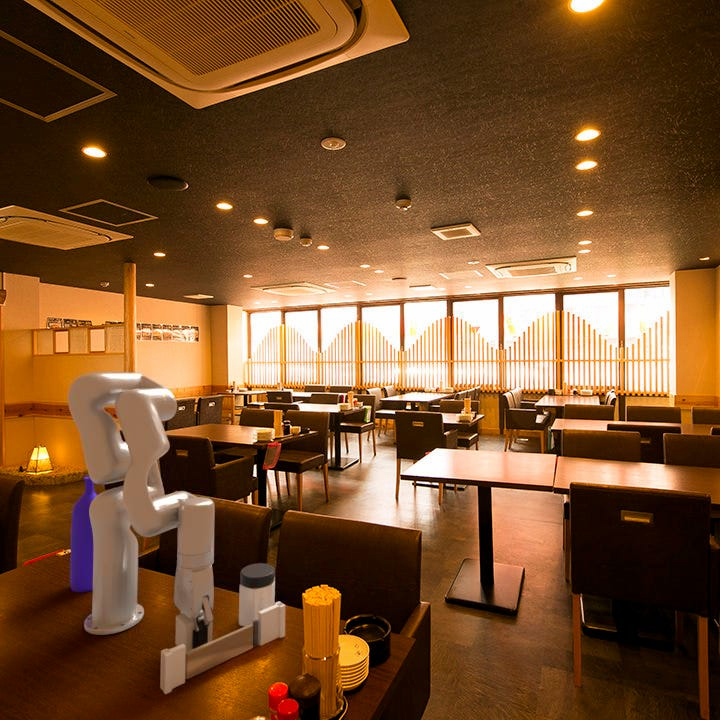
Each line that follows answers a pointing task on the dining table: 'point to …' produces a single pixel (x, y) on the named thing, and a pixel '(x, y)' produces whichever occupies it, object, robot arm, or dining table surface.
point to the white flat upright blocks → (174, 658)
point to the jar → (255, 591)
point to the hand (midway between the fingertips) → (193, 639)
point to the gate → (221, 649)
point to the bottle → (82, 542)
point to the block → (188, 630)
